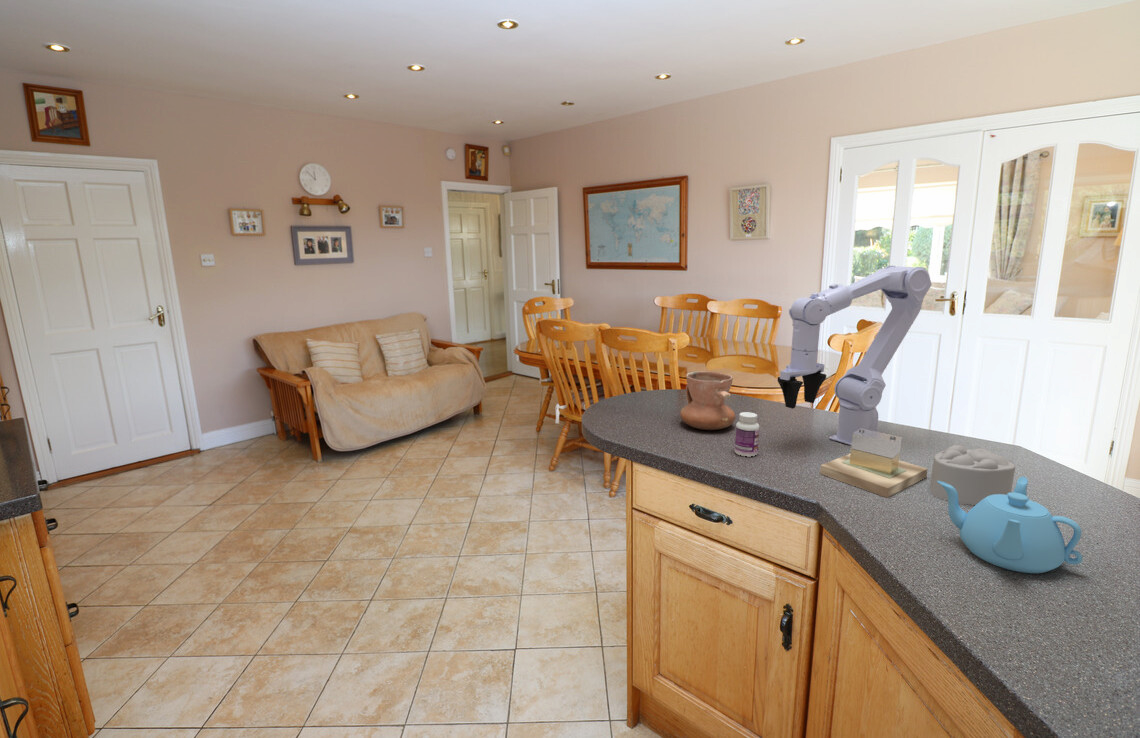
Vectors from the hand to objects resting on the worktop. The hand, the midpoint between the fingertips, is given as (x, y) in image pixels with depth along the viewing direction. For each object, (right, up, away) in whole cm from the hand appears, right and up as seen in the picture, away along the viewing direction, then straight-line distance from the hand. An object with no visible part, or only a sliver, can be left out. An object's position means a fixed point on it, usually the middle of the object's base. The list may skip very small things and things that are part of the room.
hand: (799, 404), depth 132 cm
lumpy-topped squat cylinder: (+22, -16, -24) cm, 37 cm away
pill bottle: (-14, -12, -2) cm, 18 cm away
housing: (+9, -12, -16) cm, 22 cm away
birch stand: (+9, -14, -16) cm, 23 cm away
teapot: (+13, -21, -44) cm, 51 cm away
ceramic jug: (-18, -7, +19) cm, 27 cm away
